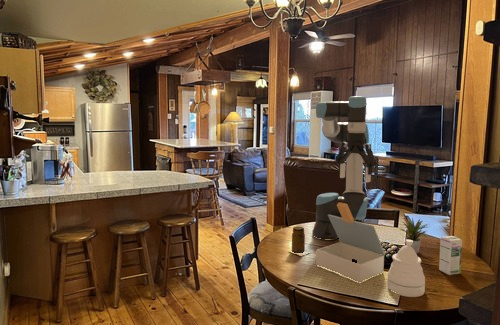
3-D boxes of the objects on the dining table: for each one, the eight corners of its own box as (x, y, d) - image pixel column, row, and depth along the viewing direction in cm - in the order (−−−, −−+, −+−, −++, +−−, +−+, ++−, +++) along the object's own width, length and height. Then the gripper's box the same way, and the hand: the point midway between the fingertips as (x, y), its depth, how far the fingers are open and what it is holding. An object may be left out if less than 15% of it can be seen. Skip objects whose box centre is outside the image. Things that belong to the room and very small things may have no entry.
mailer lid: (319, 201, 157) (321, 198, 158) (339, 243, 168) (341, 240, 169) (364, 211, 139) (367, 208, 140) (383, 257, 150) (385, 254, 151)
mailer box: (316, 266, 159) (316, 249, 158) (340, 257, 169) (340, 241, 168) (359, 283, 142) (360, 265, 141) (383, 273, 152) (384, 255, 151)
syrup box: (449, 275, 150) (451, 240, 148) (438, 269, 155) (440, 236, 154) (460, 273, 151) (463, 239, 149) (449, 268, 157) (451, 235, 155)
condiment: (298, 249, 181) (298, 225, 179) (311, 253, 174) (311, 228, 173) (287, 252, 176) (287, 227, 175) (300, 257, 170) (301, 231, 168)
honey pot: (393, 278, 147) (395, 234, 145) (428, 287, 139) (431, 241, 137) (382, 289, 137) (383, 242, 135) (418, 300, 129) (421, 250, 127)
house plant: (425, 260, 166) (427, 224, 164) (393, 253, 174) (395, 219, 172) (432, 251, 177) (434, 217, 175) (402, 245, 186) (403, 213, 184)
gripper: (328, 131, 169) (327, 176, 172) (376, 133, 150) (374, 185, 153) (339, 130, 174) (338, 175, 177) (386, 132, 154) (384, 182, 157)
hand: (354, 179), depth 165 cm, fingers open, 13 cm apart
